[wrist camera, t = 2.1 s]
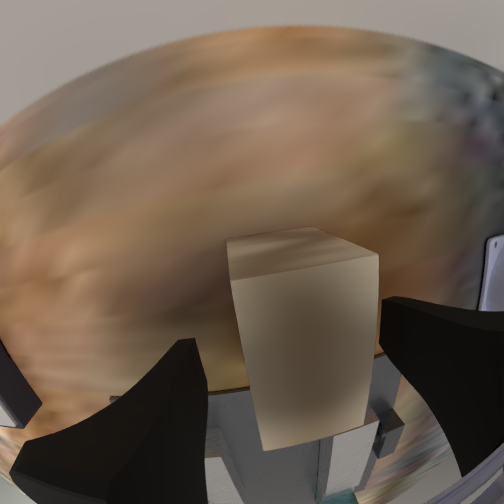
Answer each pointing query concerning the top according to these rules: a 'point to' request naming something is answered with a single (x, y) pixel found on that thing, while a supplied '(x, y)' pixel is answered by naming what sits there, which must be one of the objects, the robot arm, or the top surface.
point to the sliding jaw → (345, 461)
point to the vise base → (284, 459)
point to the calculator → (15, 395)
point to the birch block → (305, 330)
